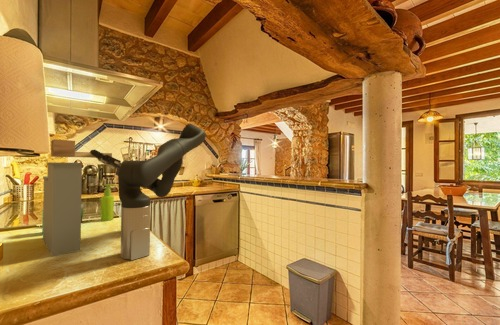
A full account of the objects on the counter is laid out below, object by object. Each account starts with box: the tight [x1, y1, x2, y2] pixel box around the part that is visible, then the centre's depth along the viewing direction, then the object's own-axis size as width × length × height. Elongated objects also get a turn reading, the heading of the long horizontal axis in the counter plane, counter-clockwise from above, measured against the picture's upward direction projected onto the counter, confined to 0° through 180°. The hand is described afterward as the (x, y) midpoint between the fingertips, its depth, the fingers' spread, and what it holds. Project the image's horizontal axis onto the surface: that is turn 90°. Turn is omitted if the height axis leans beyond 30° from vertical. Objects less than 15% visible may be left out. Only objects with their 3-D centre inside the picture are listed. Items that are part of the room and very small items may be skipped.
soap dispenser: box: [100, 183, 116, 222], centre depth 127 cm, size 6×7×20 cm
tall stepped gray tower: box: [42, 162, 84, 258], centre depth 89 cm, size 26×8×32 cm, turn 47°
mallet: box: [50, 139, 113, 159], centre depth 90 cm, size 7×19×6 cm, turn 137°
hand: (91, 151), depth 92 cm, fingers closed on mallet, 2 cm apart
